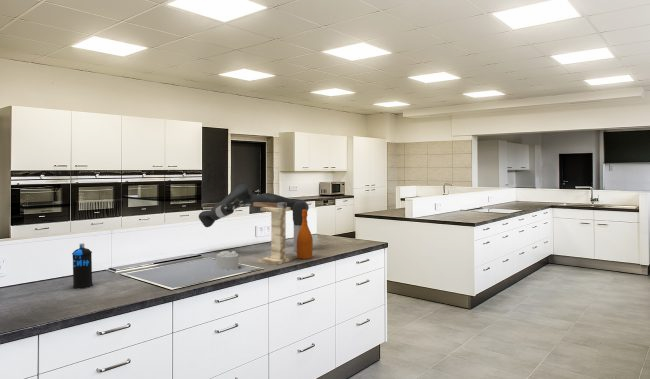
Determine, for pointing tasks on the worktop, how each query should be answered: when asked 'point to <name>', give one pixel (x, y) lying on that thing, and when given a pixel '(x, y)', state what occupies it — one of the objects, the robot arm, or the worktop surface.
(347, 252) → the worktop surface
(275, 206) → the rod
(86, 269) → the aerosol can
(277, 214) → the stand
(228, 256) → the lumpy-topped squat cylinder
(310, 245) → the wine bottle
